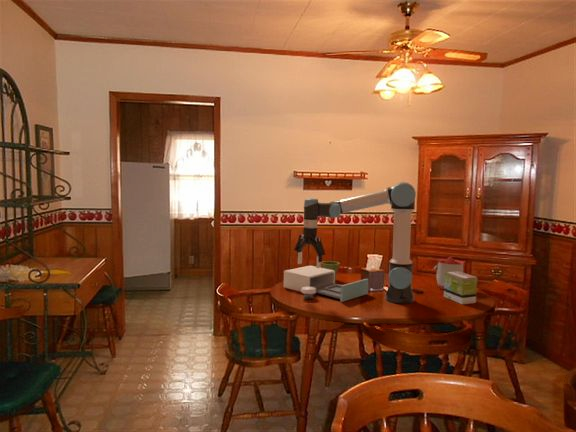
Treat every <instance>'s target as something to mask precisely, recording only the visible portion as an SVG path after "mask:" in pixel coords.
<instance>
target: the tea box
mask: <svg viewBox="0 0 576 432" xmlns="http://www.w3.org/2000/svg"><path fill="white" fill-rule="evenodd" d="M477 289H478V276H474V275H471V274H468V273H465V272H463V273H462V272H459V271H456V272H445V284H444V290H443V297H444V298H445V299H449V300H452V301H453V302H456V303H458V304H460V305H469V304H475V303H476V302H477V292H478V291H477Z"/></svg>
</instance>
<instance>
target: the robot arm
mask: <svg viewBox="0 0 576 432" xmlns="http://www.w3.org/2000/svg"><path fill="white" fill-rule="evenodd" d="M416 193H417V192H416V189H415V187H414V186H413V185H412V184H410V183H408V182H405V181H404V182H403V181H402V182H399V183H396V184H395V185H393V186H388V187H386V188H385V189H384V190H380V191H379V190H378V191H374V192H370V193H366V194H362V195H361V194H360V195H357V196H353V197H348V198H347V197H346V198H344V199H340V200H335V201H330V202H319V199H317V198H306V199H304V203H303V228H302V229H303V230H302V232H303V234H298V238H297V239H298V240H297V243H296V244H295V247H294V248H293V249H294V251H295V252H296V253H297V255H296V257H297V265H301V264H303V249H304V248H305V247H306V245H311V246H312V247H313V249H314V250H315V252H316V266H315V267H316V268H322V263H321V262H323V256H325V255H326V251H325V249H324V245H323V242H322V237H321V236H320V237H317V235H318V220H319V219H318V217H319V218H321V217H322V218H331V219H334V218H335V219H336V218H340V216H341V215H342V214H345V213H350V212H353V211H359V210H364V209H370V208H372V207H373V208H374V207H378V206H383V205H387V204H388V205H390V209H391V210H392V211H393V233H392V234H393V237H392V239H393V240H392V258H391V259H390V260H389V262H388V264H389V267H388V282H389V286H388V288H387V291H386V292H385V300H386V301H388V302H390V303H393V304H405V305H406V304H412V303H414V302H415V301H414V299H415V296H414V293H413V288H412V282H413V279H414V278H413V264H414V263H413V260H412V259H411V235H412V234H411V233H412V232H411V231H412V213H413V211H414V210H415V207H416V206H415V205H416V196H417V194H416Z"/></svg>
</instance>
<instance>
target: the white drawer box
mask: <svg viewBox="0 0 576 432" xmlns="http://www.w3.org/2000/svg"><path fill="white" fill-rule="evenodd" d="M316 267H317V266H316V265H315V266H314V265H306V266H302V267H297V268H292V269H286V270H283V288H284V289H285V288H286V289H289V290H291V291H292V290H293V291H296V292H301V288H302V287H314V288H316V287H320V286H324V285H328V284H332V283H335V284H336V279H335V271H334V270H330V269H325V268H323V267H321V268H316ZM301 293H302V292H301Z"/></svg>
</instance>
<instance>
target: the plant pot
mask: <svg viewBox="0 0 576 432" xmlns="http://www.w3.org/2000/svg"><path fill="white" fill-rule="evenodd" d="M340 264H341V263H340V262H338V261H333V260H332V261H331V260H328V261H327V260H326V261H322V262H321V267H322V268H325V269H330V270H334V271H335V280H337V274H338V269H339V266H340Z"/></svg>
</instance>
